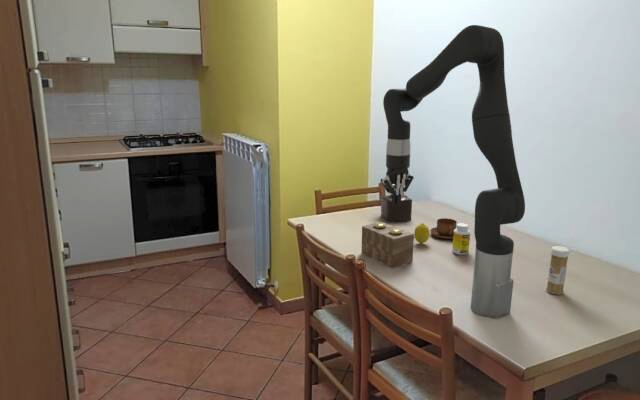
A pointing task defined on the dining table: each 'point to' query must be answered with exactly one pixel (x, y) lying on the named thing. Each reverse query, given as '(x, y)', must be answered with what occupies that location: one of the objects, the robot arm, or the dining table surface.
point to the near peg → (395, 231)
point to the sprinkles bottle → (557, 270)
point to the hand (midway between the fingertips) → (396, 205)
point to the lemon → (421, 233)
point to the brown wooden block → (387, 245)
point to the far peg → (379, 225)
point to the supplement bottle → (461, 239)
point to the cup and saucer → (444, 228)
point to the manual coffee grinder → (396, 209)
